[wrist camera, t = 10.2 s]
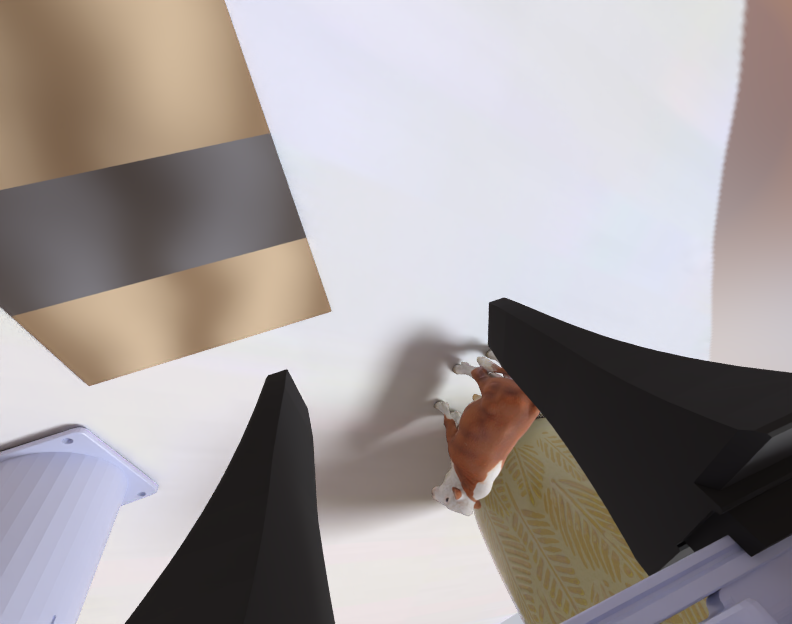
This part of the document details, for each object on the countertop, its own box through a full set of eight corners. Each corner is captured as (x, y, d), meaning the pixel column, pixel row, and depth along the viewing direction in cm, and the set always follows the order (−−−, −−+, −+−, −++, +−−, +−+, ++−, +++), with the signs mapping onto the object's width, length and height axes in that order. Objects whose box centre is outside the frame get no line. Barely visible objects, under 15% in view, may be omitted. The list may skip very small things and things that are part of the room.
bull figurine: (402, 440, 31) (436, 532, 24) (474, 328, 25) (543, 408, 19) (438, 441, 33) (478, 526, 26) (512, 338, 27) (585, 413, 21)
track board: (90, 383, 18) (89, 386, 18) (-656, -295, 6) (-681, -306, 6) (331, 309, 20) (331, 311, 20) (122, -295, 8) (119, -303, 8)
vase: (556, 470, 47) (794, 784, 25) (449, 508, 42) (626, 924, 21) (597, 389, 37) (1038, 786, 16) (464, 428, 33) (819, 1046, 11)
